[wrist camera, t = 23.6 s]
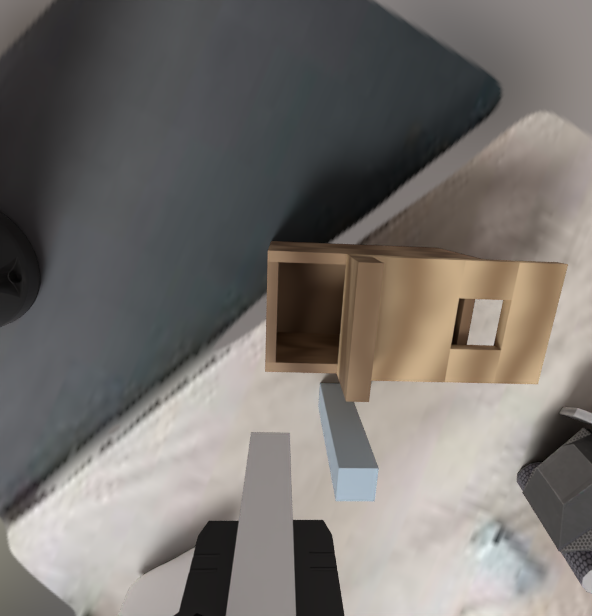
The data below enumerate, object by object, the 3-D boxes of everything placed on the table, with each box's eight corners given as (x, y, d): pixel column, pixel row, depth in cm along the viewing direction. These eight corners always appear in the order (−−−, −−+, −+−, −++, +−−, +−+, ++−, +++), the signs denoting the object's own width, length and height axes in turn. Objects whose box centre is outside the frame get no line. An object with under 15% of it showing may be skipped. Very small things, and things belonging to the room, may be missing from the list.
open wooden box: (268, 336, 45) (265, 371, 35) (271, 241, 42) (267, 250, 32) (423, 341, 46) (460, 376, 36) (437, 247, 42) (482, 259, 33)
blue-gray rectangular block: (318, 407, 48) (335, 501, 32) (320, 382, 47) (338, 468, 31) (344, 407, 48) (374, 501, 33) (346, 383, 47) (378, 468, 32)
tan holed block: (336, 374, 35) (345, 401, 30) (346, 254, 32) (358, 262, 27) (529, 378, 36) (569, 405, 31) (558, 262, 33) (607, 271, 28)
